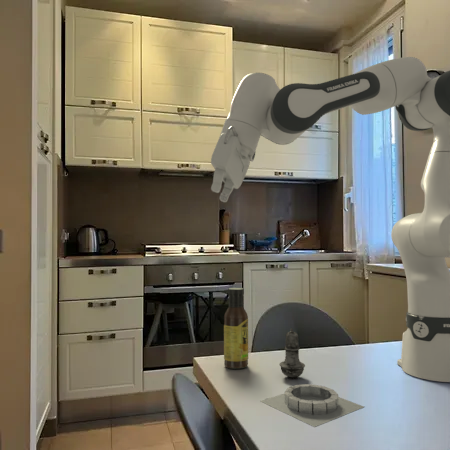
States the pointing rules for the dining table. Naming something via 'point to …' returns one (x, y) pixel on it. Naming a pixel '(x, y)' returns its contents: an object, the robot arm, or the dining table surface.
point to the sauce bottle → (235, 331)
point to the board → (312, 420)
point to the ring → (311, 406)
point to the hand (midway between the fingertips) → (218, 196)
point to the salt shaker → (292, 357)
